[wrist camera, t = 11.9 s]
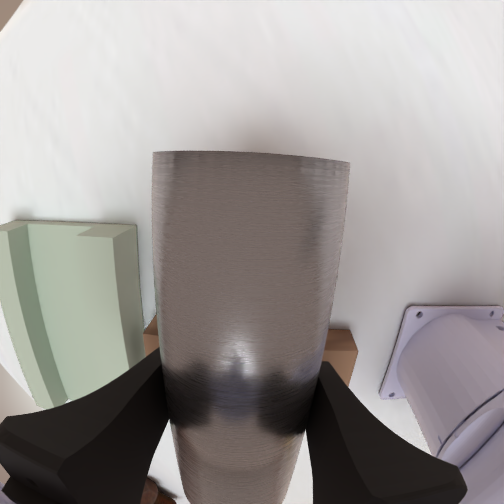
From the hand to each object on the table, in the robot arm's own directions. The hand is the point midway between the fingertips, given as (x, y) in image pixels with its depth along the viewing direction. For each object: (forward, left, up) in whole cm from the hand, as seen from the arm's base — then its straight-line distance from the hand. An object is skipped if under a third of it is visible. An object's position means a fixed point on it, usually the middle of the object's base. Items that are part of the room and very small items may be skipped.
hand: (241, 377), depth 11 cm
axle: (0, -1, +1) cm, 1 cm away
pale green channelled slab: (+13, +4, -8) cm, 16 cm away
